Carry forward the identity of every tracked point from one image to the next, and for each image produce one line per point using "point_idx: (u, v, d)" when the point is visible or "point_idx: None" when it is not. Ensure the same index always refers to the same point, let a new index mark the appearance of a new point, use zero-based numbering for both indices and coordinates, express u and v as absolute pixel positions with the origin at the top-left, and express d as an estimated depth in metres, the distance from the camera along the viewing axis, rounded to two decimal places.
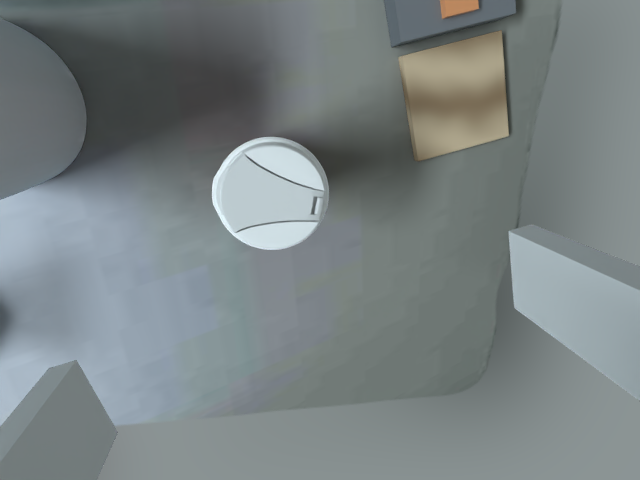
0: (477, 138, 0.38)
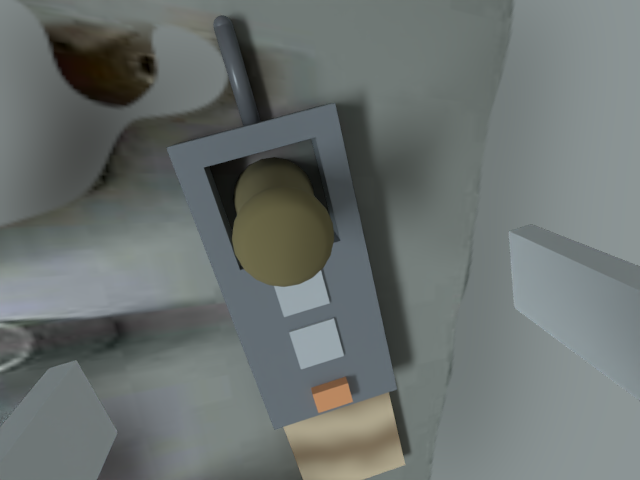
0: (371, 471, 0.37)
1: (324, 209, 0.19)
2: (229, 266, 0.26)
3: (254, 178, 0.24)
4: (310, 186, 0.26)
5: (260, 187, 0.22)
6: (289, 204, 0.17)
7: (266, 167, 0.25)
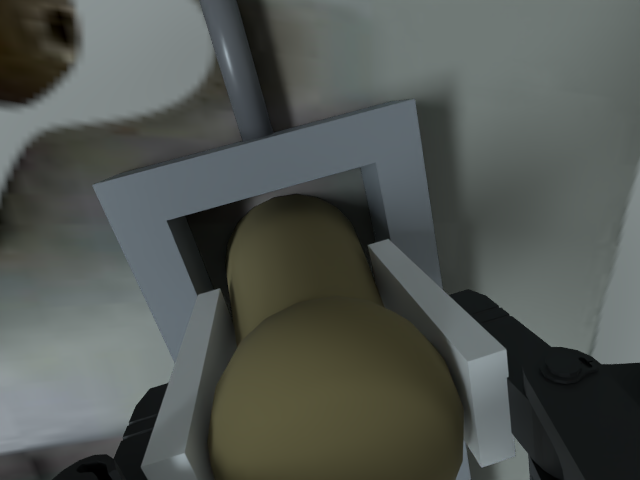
0: None
1: (445, 367, 0.07)
2: None
3: (262, 243, 0.12)
4: (361, 248, 0.15)
5: (277, 274, 0.10)
6: (366, 385, 0.06)
7: (283, 217, 0.14)
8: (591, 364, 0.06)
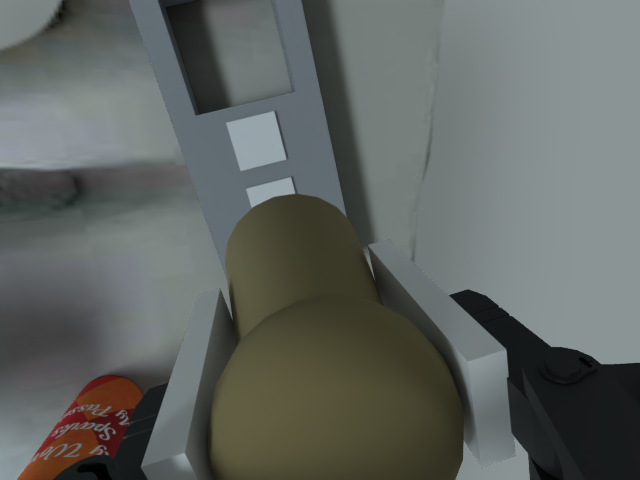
0: None
1: (445, 365, 0.07)
2: (184, 110, 0.27)
3: (262, 242, 0.12)
4: None
5: (276, 273, 0.10)
6: (366, 383, 0.06)
7: (283, 216, 0.14)
8: (591, 364, 0.06)
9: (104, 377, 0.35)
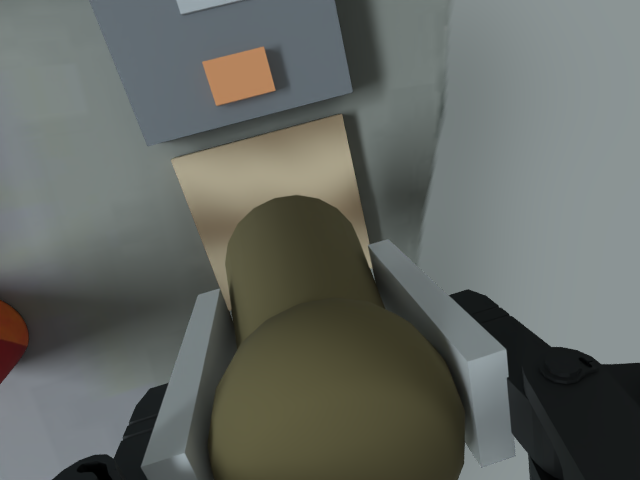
0: None
1: (446, 369, 0.07)
2: None
3: (263, 244, 0.12)
4: (361, 249, 0.15)
5: (277, 275, 0.10)
6: (368, 387, 0.06)
7: (283, 217, 0.14)
8: (590, 364, 0.06)
9: None
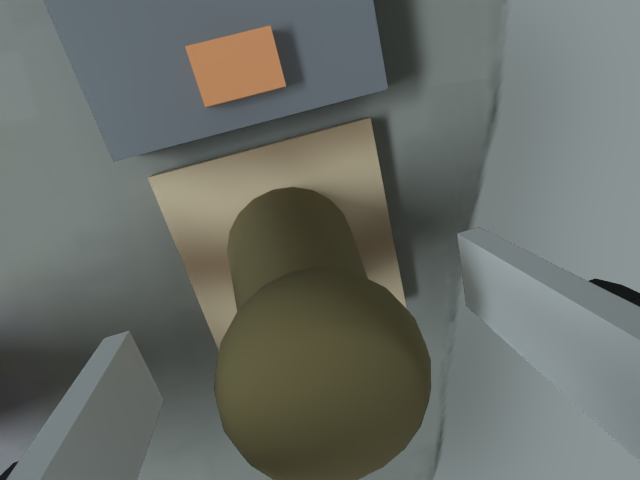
0: None
1: (414, 323, 0.09)
2: None
3: (261, 229, 0.14)
4: (352, 235, 0.16)
5: (273, 253, 0.12)
6: (344, 331, 0.07)
7: (280, 206, 0.15)
8: None
9: None
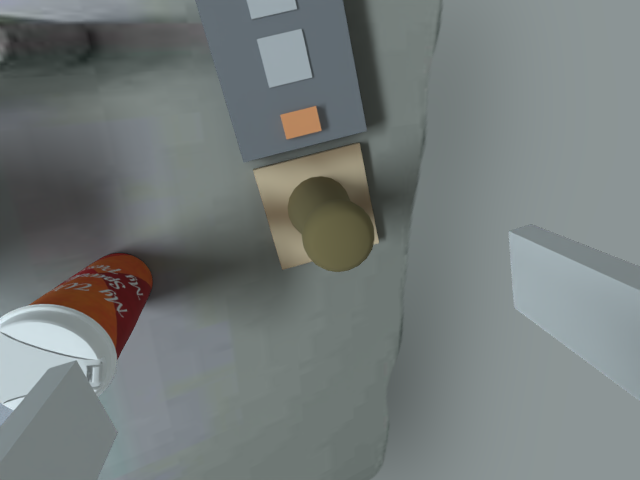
0: None
1: (368, 216, 0.26)
2: None
3: (309, 192, 0.31)
4: None
5: (317, 199, 0.29)
6: (345, 212, 0.25)
7: (316, 184, 0.33)
8: None
9: (114, 253, 0.35)
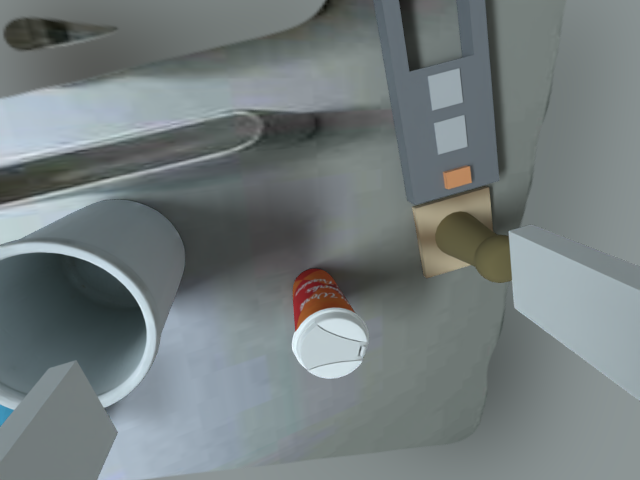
0: None
1: None
2: (403, 68, 0.40)
3: (463, 226, 0.45)
4: None
5: (476, 232, 0.43)
6: None
7: (464, 218, 0.46)
8: None
9: (312, 269, 0.48)
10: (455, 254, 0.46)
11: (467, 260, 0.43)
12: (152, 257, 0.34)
